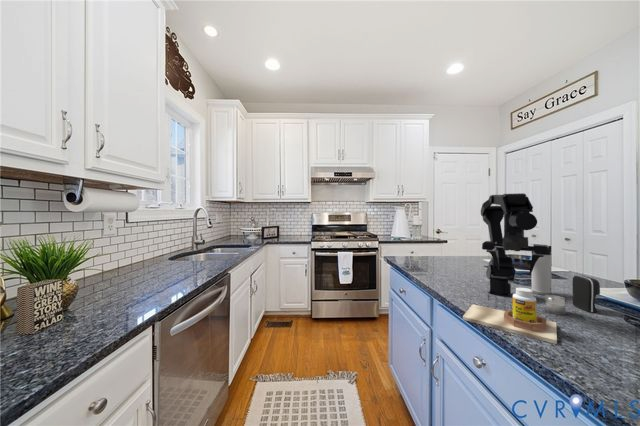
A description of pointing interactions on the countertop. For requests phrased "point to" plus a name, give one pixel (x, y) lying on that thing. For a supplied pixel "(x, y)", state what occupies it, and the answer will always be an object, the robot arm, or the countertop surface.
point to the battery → (585, 292)
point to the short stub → (555, 304)
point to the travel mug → (542, 275)
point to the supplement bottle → (524, 305)
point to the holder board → (500, 324)
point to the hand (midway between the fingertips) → (513, 271)
